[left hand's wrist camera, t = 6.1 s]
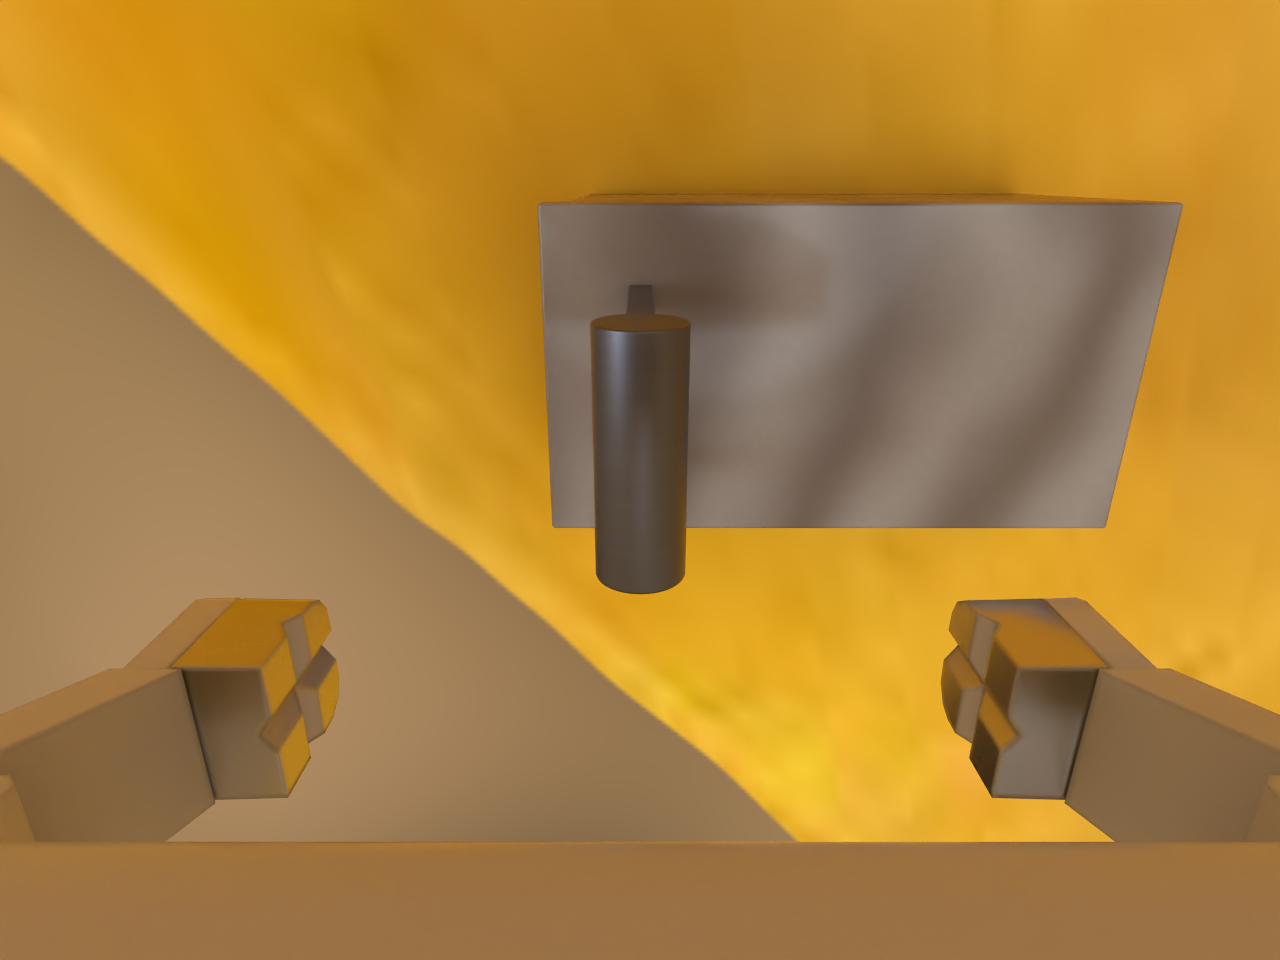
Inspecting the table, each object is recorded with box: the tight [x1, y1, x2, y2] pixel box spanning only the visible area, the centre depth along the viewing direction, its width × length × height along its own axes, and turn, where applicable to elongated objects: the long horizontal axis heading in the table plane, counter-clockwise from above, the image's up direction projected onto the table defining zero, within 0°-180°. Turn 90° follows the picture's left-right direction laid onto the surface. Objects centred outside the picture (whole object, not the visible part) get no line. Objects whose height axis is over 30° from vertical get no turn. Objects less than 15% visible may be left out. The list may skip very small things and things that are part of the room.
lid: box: [538, 202, 1183, 594], centre depth 20 cm, size 18×10×9 cm, turn 90°
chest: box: [572, 194, 1157, 202], centre depth 29 cm, size 17×10×10 cm, turn 90°
